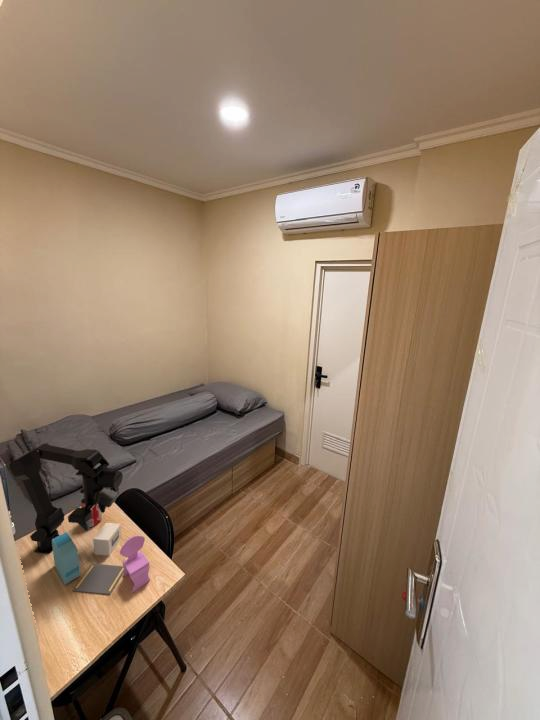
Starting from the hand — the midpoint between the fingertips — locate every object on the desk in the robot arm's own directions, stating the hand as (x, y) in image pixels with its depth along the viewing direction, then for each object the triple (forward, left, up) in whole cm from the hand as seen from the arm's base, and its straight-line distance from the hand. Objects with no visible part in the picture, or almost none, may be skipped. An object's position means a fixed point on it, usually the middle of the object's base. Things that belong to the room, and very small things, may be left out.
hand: (95, 521), depth 108 cm
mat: (+8, -11, -13) cm, 19 cm away
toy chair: (+21, -10, -13) cm, 26 cm away
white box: (+3, +2, -13) cm, 13 cm away
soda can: (-11, +13, -13) cm, 22 cm away
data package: (-5, -9, -13) cm, 17 cm away
